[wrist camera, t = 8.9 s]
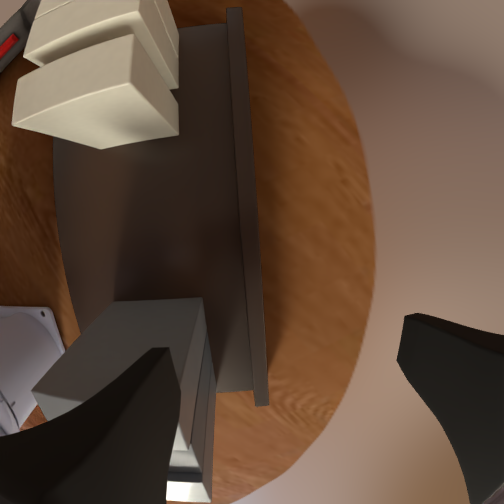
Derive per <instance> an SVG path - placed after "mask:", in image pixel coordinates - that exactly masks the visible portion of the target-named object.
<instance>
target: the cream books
mask: <svg viewBox="0 0 504 504" xmlns="http://www.w3.org/2000/svg"><path fill="white" fill-rule="evenodd" d="M129 34H135V36H136V37H137V39H138V40H139V42H140V44H141V45H142V47H143V48H144V50H145V51H146V53H147V55H148V56H149V58H150V59H151V61H152V63H153V64H154V66H155V67H156V69H157V71H158V72H159V74H160V75H161V77H162V79H163V80H164V82H165V84H166V85H167V87H168V88H169V90H170V89H176V88H179V61H178V59H179V33H178V30H177V27H176V24H175V21H174V18H173V16H172V13H171V10H170V7H169V4H168V1H167V0H41V2H40V5H39V8H38V10H37V13H36V16H35V20H34V22H33V24H32V27H31V31H30V34H29V37H28V40H27V44H26V48H25V51H24V55H23V57H24V58H26V59H28V60H29V61H31V62H33V63H35V64H36V65H38V66H40V67H42V66H44V65H46V64H48V63H50V62H53V61H55V60H57V59H59V58H62V57H64V56H66V55H69V54H71V53H74V52H76V51H79V50H82V49H84V48H87V47H90V46H93V45H96V44H99V43H102V42H105V41H108V40H111V39H115V38H118V37H121V36H125V35H129Z"/></svg>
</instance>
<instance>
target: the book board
mask: <svg viewBox="0 0 504 504" xmlns="http://www.w3.org/2000/svg"><path fill="white" fill-rule="evenodd" d="M177 30H178V33H179V59H178V61H179V88H176V89H170V92H171V93H172V95H173V96H174V98H175V100H176V101H177V103H178V114H179V135H178V136H171V137H164V138H157V139H151V140H145V141H140V142H134V143H129V144H124V145H119V146H114V147H110V148H105V149H98V148H94V147H91V146H88V145H84V144H81V143H77V142H73V141H70V140H66V139H63V138H59V137H55V136H53V178H54V195H55V207H56V217H57V226H58V234H59V240H60V247H61V253H62V259H63V264H64V269H65V274H66V279H67V283H68V288H69V292H70V296H71V300H72V304H73V308H74V312H75V315H76V319H77V322H78V326H79V329H80V332H81V334H82V333H83V332H84V331H85V330H86V329H87V328H88V327H89V326H90V325H91V324H92V323H93V322H94V320H95V319H96V318H97V317H98V316H99V315H100V314H101V313H102V312H103V311H104V310H105V309H106V308H107V307H108V306H109V305H110V304H111V303H112V302H117V301H143V300H163V299H181V298H197V297H202V298H203V304H204V312H205V319H206V325H207V332H208V338H209V345H210V351H211V357H212V363H213V369H214V375H215V380H216V393H219V392H235V391H248V390H253V392H254V400H255V406H256V407H258V406H267V405H269V392H268V374H267V355H266V338H265V320H264V303H263V287H262V271H261V255H260V239H259V224H258V209H257V194H256V180H255V166H254V152H253V138H252V124H251V111H250V98H249V85H248V72H247V60H246V47H245V35H244V23H243V12H242V7H232V8H226V23H221V24H209V25H200V26H192V27H184V28H178V29H177Z"/></svg>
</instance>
